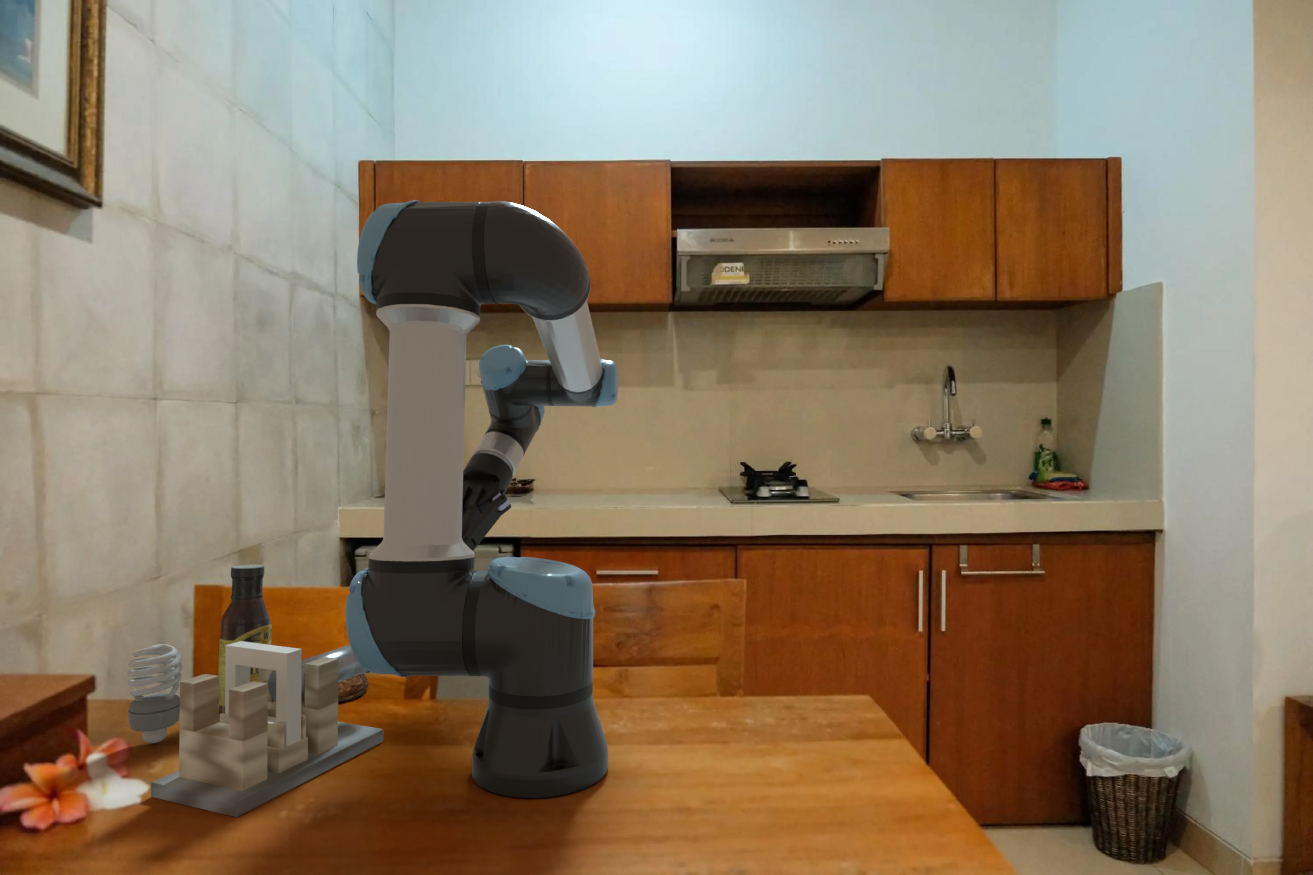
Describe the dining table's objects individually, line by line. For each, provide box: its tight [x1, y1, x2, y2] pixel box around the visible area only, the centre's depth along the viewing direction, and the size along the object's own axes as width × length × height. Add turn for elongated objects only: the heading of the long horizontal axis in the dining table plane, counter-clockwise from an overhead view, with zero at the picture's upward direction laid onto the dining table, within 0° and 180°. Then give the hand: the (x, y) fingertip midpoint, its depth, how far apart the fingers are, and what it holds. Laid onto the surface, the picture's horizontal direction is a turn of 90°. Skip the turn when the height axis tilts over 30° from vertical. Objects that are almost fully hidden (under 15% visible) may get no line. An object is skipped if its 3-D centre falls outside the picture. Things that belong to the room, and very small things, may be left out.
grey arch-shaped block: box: [225, 641, 303, 747], centre depth 88 cm, size 9×2×10 cm, turn 69°
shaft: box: [268, 644, 371, 701], centre depth 97 cm, size 14×4×4 cm, turn 159°
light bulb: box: [126, 643, 183, 745], centre depth 96 cm, size 6×6×12 cm
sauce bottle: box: [217, 564, 273, 717], centre depth 107 cm, size 6×6×20 cm
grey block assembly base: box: [150, 657, 384, 818], centre depth 89 cm, size 12×21×12 cm, turn 159°
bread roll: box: [303, 673, 370, 704], centre depth 115 cm, size 11×11×5 cm
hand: (428, 584), depth 115 cm, fingers closed
